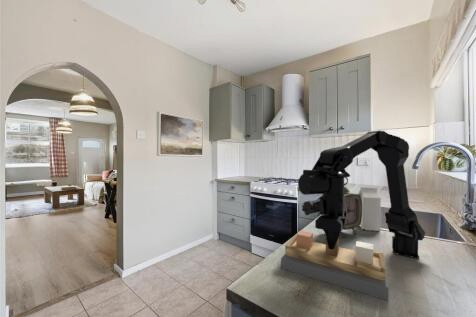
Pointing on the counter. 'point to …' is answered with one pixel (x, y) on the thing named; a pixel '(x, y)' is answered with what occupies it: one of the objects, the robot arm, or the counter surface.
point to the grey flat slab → (337, 276)
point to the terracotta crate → (304, 240)
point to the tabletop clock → (352, 210)
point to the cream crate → (364, 252)
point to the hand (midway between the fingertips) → (332, 245)
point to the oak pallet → (338, 258)
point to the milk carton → (370, 208)
